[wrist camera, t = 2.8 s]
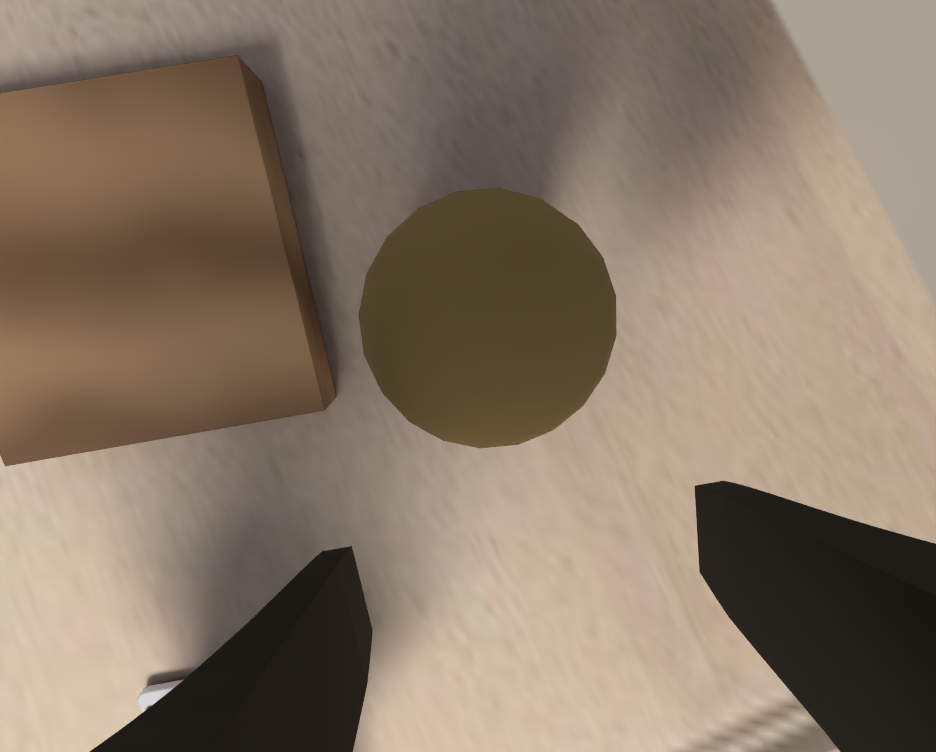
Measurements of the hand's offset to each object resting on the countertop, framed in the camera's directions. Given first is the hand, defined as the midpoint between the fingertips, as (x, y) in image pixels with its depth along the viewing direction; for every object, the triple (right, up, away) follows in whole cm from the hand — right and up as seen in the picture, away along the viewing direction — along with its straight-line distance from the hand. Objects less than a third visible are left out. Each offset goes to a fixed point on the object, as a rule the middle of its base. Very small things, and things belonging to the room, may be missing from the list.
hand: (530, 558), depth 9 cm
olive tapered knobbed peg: (-1, +7, +9) cm, 12 cm away
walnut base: (-14, +8, +8) cm, 18 cm away
